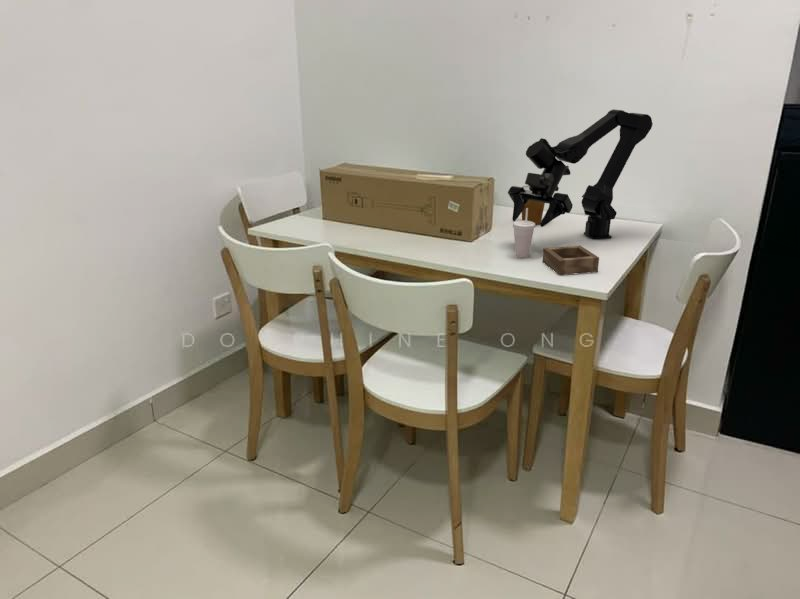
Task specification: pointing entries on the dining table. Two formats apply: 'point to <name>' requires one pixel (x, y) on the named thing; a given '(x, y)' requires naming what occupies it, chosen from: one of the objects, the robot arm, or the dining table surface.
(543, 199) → the robot arm
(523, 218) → the disposable coffee cup
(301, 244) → the dining table surface
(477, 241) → the dining table surface
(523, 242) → the smoothie
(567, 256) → the socket block
